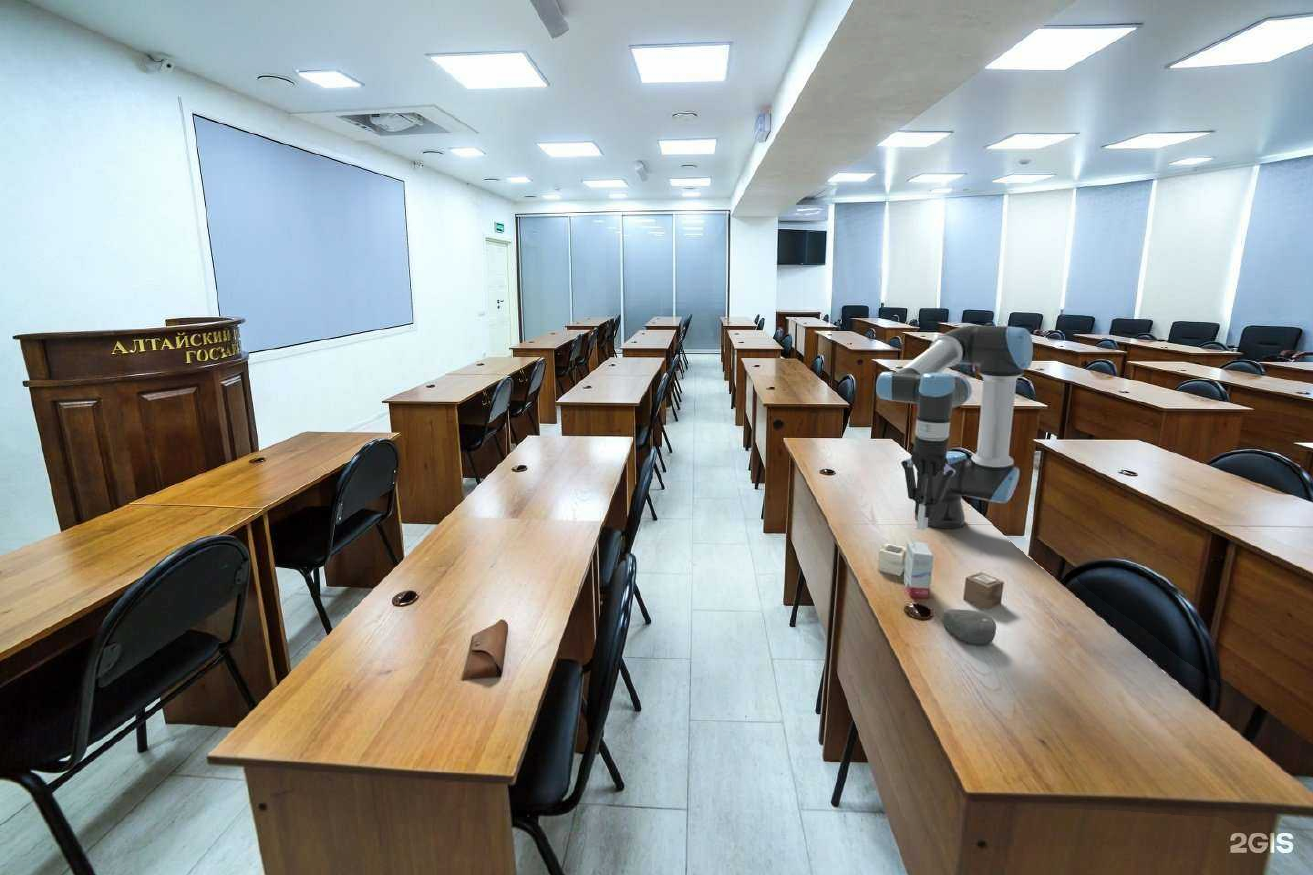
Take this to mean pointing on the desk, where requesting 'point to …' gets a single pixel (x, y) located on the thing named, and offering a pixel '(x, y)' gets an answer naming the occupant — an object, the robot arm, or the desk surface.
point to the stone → (970, 626)
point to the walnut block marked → (983, 590)
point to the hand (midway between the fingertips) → (921, 528)
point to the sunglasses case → (487, 652)
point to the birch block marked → (892, 559)
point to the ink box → (918, 569)
